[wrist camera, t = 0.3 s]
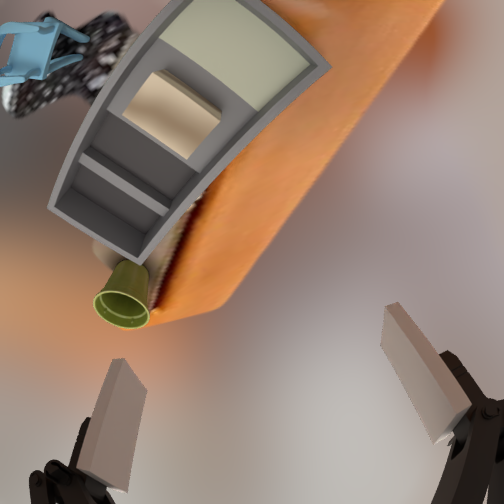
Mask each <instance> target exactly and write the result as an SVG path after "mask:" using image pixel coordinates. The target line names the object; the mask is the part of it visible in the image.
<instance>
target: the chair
mask: <svg viewBox="0 0 504 504" xmlns="http://www.w3.org/2000/svg"><path fill="white" fill-rule="evenodd" d="M7 33H12V34H15V38H14V42H13V45H12V49H11V53H10V56H9V60H8V63H7V66H6V67H3V68H1V69H0V75H1V74H4V73H5V75H7V76H0V87H1V86H7V85H11V84H15V83H23V82H25V81H26V80H27V79H28V78H32V79H38V80H43V79H46V77H47V74H49V73H51V72H53V71H55V70H57V69H59V68H61V67H63V66H66V65H68V64H70V63H73V62H76V61H81V60H82V59H83V55H82V54H72V55H67V56H63V57H59V58H56V59H53V60H51V56H52V53H53V50H54V47H55V44H56V41H57V39H58V37H59V34H60V33H61V34H64V35H66V36H68V37H70V38H72V39H74V40H75V41H77V42H81V43H86V42H88V41H89V40H90V37H89V36H87V35H85V34H83V33H81V32H79V31H77V30H75V29H74V28H72V27H70V26H69V25H67V24H65V23H63V22H62V21H60V20H58V19H56V18H54V17H46V18H45V20H44V22H7V23H5V24H3V25H2V26H1V27H0V47H1V44H2V42H3V39H4V38H5V36H6V34H7Z"/></svg>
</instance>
